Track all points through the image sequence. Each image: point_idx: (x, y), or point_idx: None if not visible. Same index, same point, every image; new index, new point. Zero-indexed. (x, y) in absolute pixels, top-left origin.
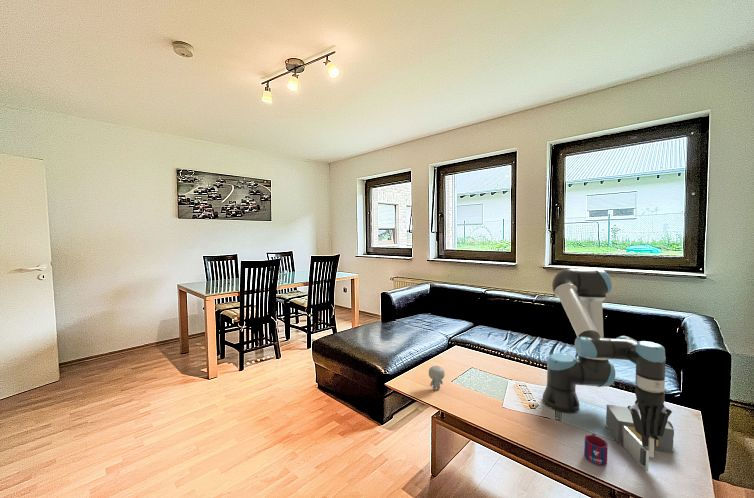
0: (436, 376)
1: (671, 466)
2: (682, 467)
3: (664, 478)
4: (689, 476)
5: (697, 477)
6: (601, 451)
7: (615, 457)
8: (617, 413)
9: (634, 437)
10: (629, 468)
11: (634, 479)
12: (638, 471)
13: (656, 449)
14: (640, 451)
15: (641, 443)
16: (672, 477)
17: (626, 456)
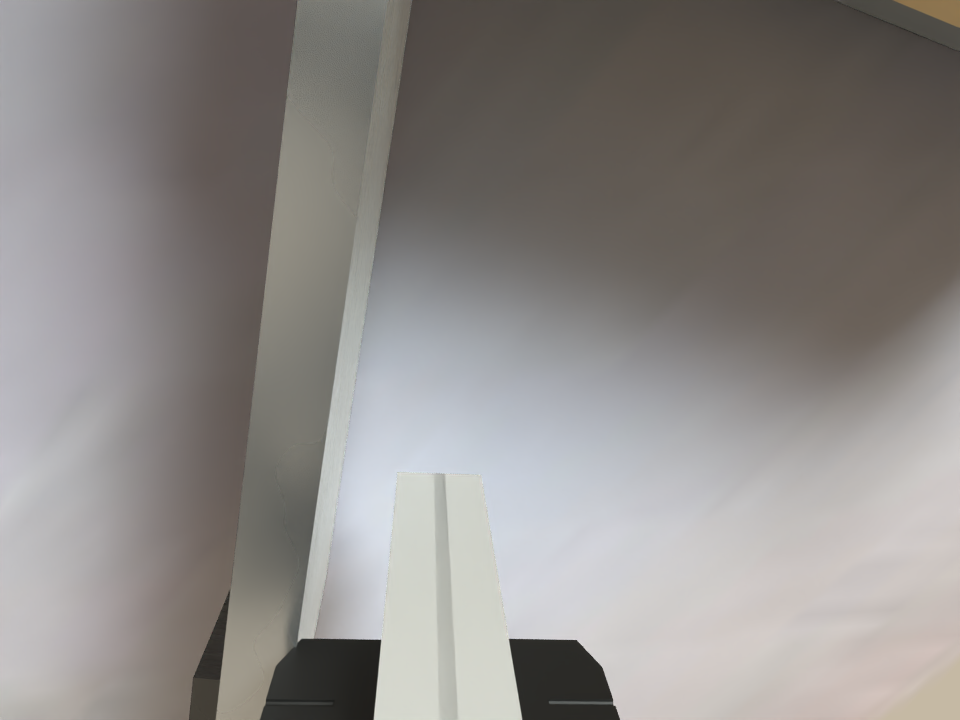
0: None
1: (797, 420)
2: (935, 434)
3: None
4: (850, 589)
5: (934, 599)
6: None
7: (23, 240)
8: None
9: (253, 397)
10: (104, 485)
11: (33, 682)
12: (205, 538)
13: (943, 37)
14: (213, 634)
15: (258, 666)
16: (606, 617)
17: (249, 211)
